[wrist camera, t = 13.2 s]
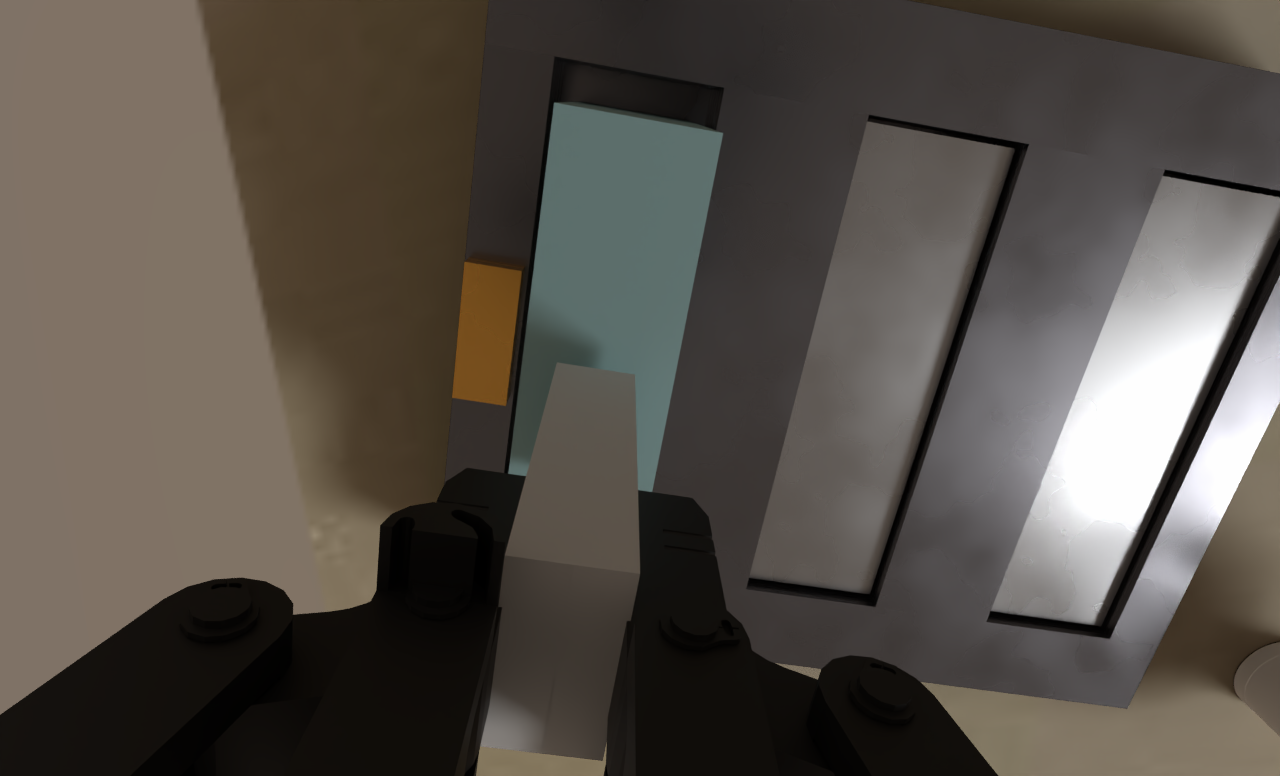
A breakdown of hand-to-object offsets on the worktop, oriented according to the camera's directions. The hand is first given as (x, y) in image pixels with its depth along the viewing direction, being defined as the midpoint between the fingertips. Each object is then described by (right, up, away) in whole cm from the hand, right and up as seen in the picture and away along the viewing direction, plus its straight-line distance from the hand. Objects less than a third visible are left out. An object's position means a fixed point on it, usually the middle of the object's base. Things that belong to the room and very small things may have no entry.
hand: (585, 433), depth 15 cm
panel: (0, +3, +8) cm, 9 cm away
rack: (+7, +2, +10) cm, 12 cm away
